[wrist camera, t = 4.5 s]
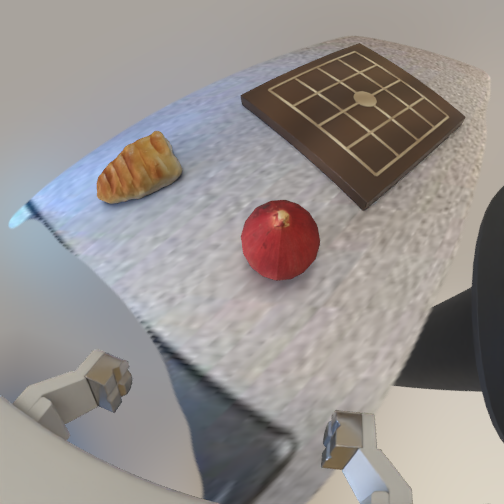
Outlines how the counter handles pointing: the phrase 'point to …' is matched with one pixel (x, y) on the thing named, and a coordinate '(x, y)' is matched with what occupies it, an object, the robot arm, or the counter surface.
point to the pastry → (139, 170)
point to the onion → (280, 240)
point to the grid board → (356, 118)
